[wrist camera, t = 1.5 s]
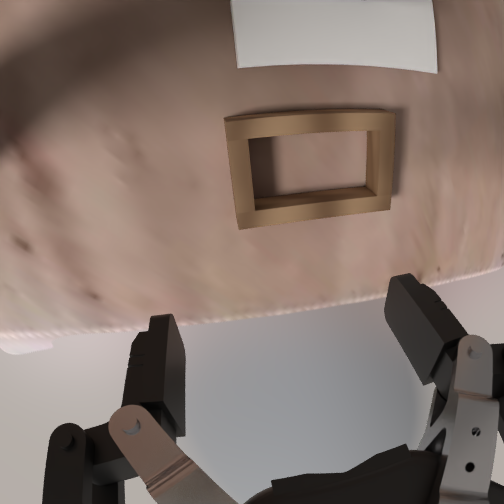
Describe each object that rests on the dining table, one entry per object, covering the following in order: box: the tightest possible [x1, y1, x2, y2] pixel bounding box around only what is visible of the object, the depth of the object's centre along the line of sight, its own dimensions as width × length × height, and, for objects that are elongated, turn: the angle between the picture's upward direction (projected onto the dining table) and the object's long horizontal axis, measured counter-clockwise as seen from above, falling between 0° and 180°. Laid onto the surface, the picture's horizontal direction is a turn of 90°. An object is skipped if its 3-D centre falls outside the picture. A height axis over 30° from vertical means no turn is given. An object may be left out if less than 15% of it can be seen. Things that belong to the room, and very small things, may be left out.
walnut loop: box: [224, 109, 396, 230], centre depth 26 cm, size 14×9×2 cm, turn 95°
